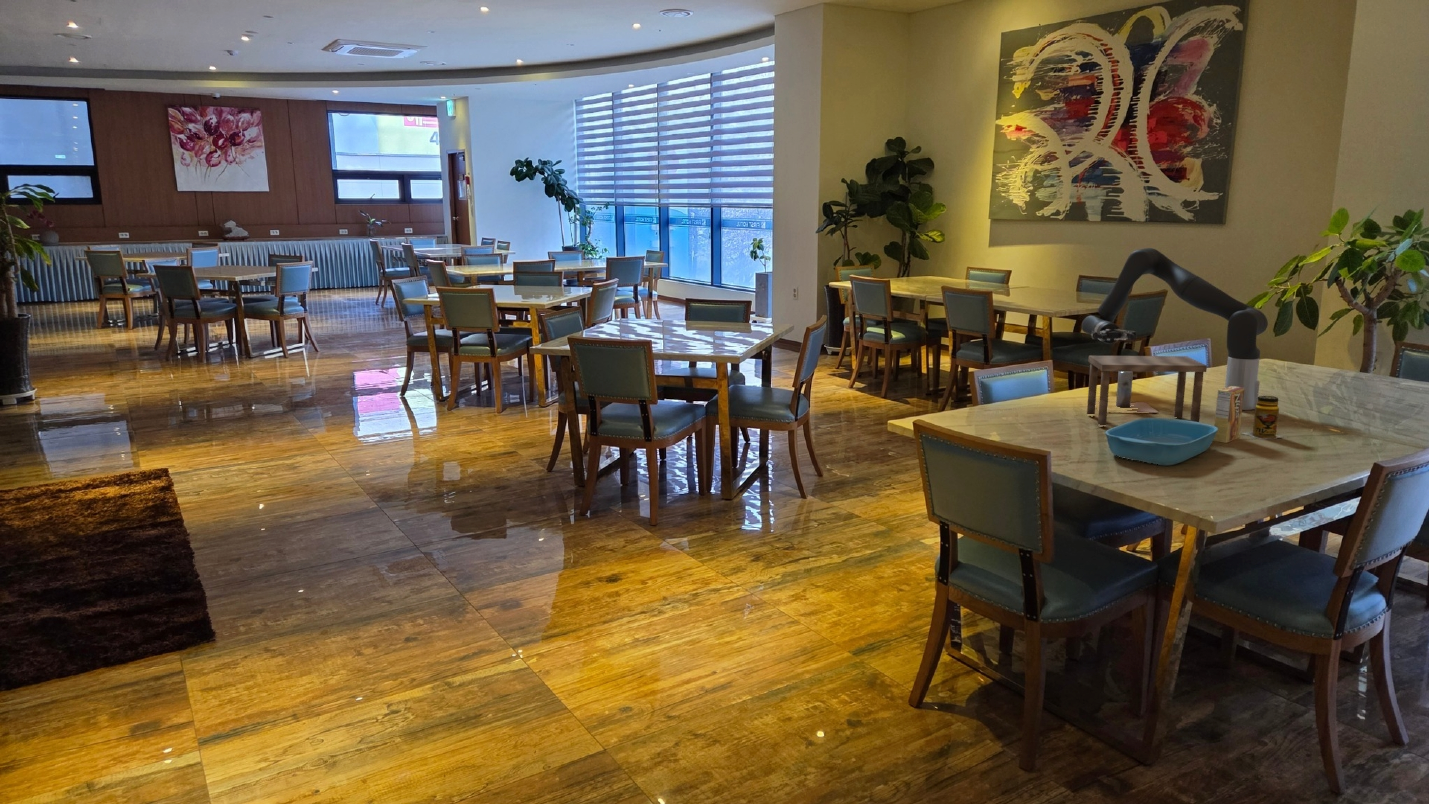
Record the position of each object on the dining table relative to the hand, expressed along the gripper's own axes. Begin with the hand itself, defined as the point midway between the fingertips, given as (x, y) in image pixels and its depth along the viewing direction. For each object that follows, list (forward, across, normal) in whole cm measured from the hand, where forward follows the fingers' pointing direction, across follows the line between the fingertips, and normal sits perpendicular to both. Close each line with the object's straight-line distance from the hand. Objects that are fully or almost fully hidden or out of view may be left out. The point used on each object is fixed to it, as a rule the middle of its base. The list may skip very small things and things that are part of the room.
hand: (1118, 337), depth 320 cm
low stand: (+33, 0, +23) cm, 40 cm away
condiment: (+48, +30, +24) cm, 61 cm away
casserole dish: (+71, -6, +24) cm, 75 cm away
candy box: (+54, +18, +24) cm, 61 cm away
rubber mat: (+12, 0, +23) cm, 26 cm away
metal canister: (+12, 0, +22) cm, 25 cm away
